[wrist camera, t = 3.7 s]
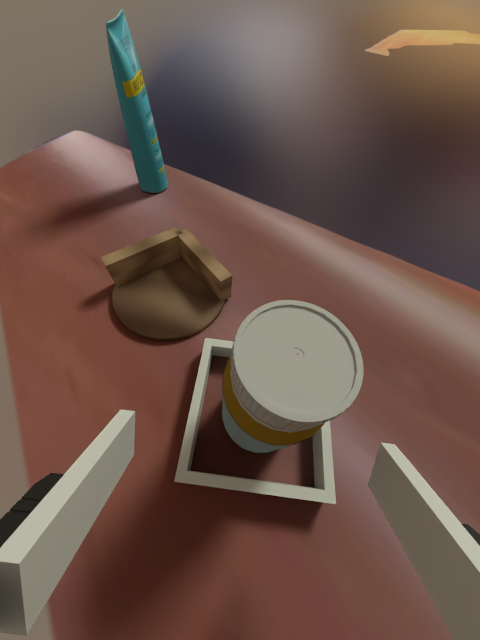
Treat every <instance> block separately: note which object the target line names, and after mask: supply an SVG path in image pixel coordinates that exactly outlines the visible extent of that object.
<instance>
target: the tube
mask: <svg viewBox="0 0 480 640" xmlns="http://www.w3.org/2000/svg"><path fill="white" fill-rule="evenodd" d="M106 30H107V39H108V46H109V53H110V58H111V64H112V69H113V74H114V79H115V83H116V88H117V93H118V97H119V102H120V106H121V111H122V115H123V119H124V123H125V128H126V132H127V136H128V140H129V145H130V148H131V153H132V157H133V161H134V165H135V169H136V173H137V177H138V181H139V185H140V188H141V189H142V190H143V191H145V192H149V193H158V192H162V191H163V190H165V189H166V188H167V187H168V183H167V178H166V173H165V168H164V164H163V160H162V155H161V151H160V147H159V142H158V138H157V134H156V130H155V125H154V121H153V117H152V113H151V109H150V105H149V101H148V96H147V92H146V88H145V85H144V81H143V77H142V73H141V69H140V66H139V62H138V58H137V55H136V52H135V48H134V44H133V41H132V37H131V34H130V31H129V28H128V24H127V21H126V18H125V15H124V10H123V9H122V10H121V11H120V12H119V14H118V16H117V17H116V18H114V19H113V20H111V21H109V22H107V23H106Z"/></svg>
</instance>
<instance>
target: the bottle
mask: <svg viewBox="0 0 480 640" xmlns="http://www.w3.org/2000/svg"><path fill="white" fill-rule="evenodd" d="M362 380H363V361H362V356H361V353H360V350H359V347H358V345H357V343H356V341H355V339H354V337H353V336H352V334H351V333H350V331H349V330H348V329H347V328H346V326H345V325H344V324H343V323H342V322H341V321H340V320H338V319H337V318H336V317H335V316H333V315H332V314H331V313H329V312H328V311H326V310H324V309H322V308H320V307H318V306H316V305H313V304H310V303H307V302H302V301H296V300H281V301H275V302H271V303H268V304H265V305H263V306H261V307H259V308H257V309H256V310H254V311H253V312H252V313H251V314H249V315H248V316H247V317H246V319H245V320H244V321H243V322H242V324H241V326H239V329H238V331H237V332H236V337H234V343H233V346H232V355H231V356H230V358H229V359H228V362H227V365H226V368H225V370H224V375H223V392H222V419H223V422H224V426H225V429H226V431H227V433H228V435H229V436H230V438H231V439H232V440H233V441H234V442H235V443H236V444H237V445H238V446H240V447H241V448H243V449H245V450H248V451H250V452H254V453H267V452H271V451H274V450H277V449H280V448H284V447H287V446H290V445H293V444H296V443H298V442H301V441H303V440H306V439H308V438H310V437H311V436H313V435H314V434H315V433H316V432H317V431H318V430H319V429H320V428H321V427H322V426H323V425H324V424H325V422H328V421H330V420H332V419H334V418H336V417H337V416H339V415H341V414H342V413H343V411H345V410H347V409H348V407H349V406H350V405H351V404H352V403H353V401H354V400H355V398H356V396H357V395H358V393H359V390H360V388H361V385H362Z"/></svg>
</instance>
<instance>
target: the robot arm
mask: <svg viewBox="0 0 480 640" xmlns="http://www.w3.org/2000/svg"><path fill="white" fill-rule="evenodd" d="M134 432H135V411H128V410H120V411H119V412H118V413H117V414H116V416H115V417H114V418H113V419H112V420H111V421H110V422H109V424H108V425H107V426H106V427H105V428H104V429H103V431H102V432H101V433H100V434H99V435H98V436H97V437H96V439H95V440H94V441H93V442H92V443H91V444H90V445H89V447H88V448H87V449H86V450H85V451H84V452H83V454H82V455H81V456H80V457H79V458H78V459H77V460H76V462H75V463H74V464H73V465H72V466H71V467H70V468H69V470H68V471H67V472H66V473H65V474H56V473H50V474H49V475H47V476H46V477H44V478H43V479H41V480H40V481H38V482H37V483H35V484H34V485H33V486H32V487H31V488H30V490H29V491H28V492H27V493H26V494H25V495H24V496H23V497H22V499H21V500H19V501H18V502H17V503H16V504H15V505H14V506H13V507H12V508H11V509H10V511H9V512H8V513H6V514H5V515H4V516H3V517H2V518H1V520H0V632H2V633H9V634H18V635H26V636H27V635H28V633H29V631H30V630H31V628H32V626H33V625H34V623H35V621H36V619H37V618H38V616H39V614H40V613H41V611H42V609H43V608H44V606H45V604H46V603H47V601H48V599H49V598H50V596H51V594H52V592H53V591H54V589H55V587H56V586H57V584H58V582H59V581H60V579H61V577H62V576H63V574H64V572H65V571H66V569H67V567H68V565H69V564H70V562H71V560H72V559H73V557H74V555H75V554H76V552H77V550H78V549H79V547H80V545H81V543H82V542H83V540H84V538H85V537H86V535H87V533H88V532H89V530H90V528H91V527H92V525H93V523H94V522H95V520H96V518H97V516H98V515H99V513H100V511H101V510H102V508H103V506H104V505H105V503H106V501H107V500H108V498H109V496H110V495H111V493H112V491H113V489H114V488H115V486H116V484H117V483H118V481H119V479H120V478H121V476H122V474H123V473H124V471H125V469H126V468H127V466H128V464H129V462H130V461H131V459H132V457H133V456H134ZM368 486H369V487H370V489H371V491H372V493H373V495H374V496H375V498H376V500H377V502H378V504H379V505H380V507H381V509H382V511H383V513H384V514H385V516H386V518H387V520H388V522H389V523H390V525H391V527H392V529H393V531H394V532H395V534H396V536H397V538H398V540H399V541H400V543H401V545H402V547H403V548H404V550H405V552H406V554H407V556H408V557H409V559H410V561H411V563H412V565H413V566H414V568H415V570H416V572H417V574H418V575H419V577H420V579H421V581H422V583H423V584H424V586H425V588H426V590H427V592H428V593H429V595H430V597H431V599H432V601H433V602H434V604H435V606H436V608H437V609H438V611H439V613H440V615H441V617H442V618H443V620H444V622H445V624H446V626H447V627H448V629H449V631H450V633H451V635H452V636H453V638H454V640H480V534H478V533H477V532H476V531H475V530H474V529H472V528H471V527H470V526H469V525H468V524H461V523H460V522H459V521H458V519H457V518H456V517H455V516H454V515H453V513H452V512H451V511H450V510H449V509H448V507H447V506H446V505H445V504H444V503H443V501H442V500H441V499H440V498H439V497H438V495H437V494H436V493H435V492H434V491H433V489H432V488H431V487H430V486H429V485H428V483H427V482H426V481H425V480H424V479H423V477H422V476H421V475H420V474H419V473H418V471H417V470H416V469H415V468H414V467H413V465H412V464H411V463H410V462H409V461H408V459H407V458H406V457H405V456H404V455H403V453H402V452H401V451H400V450H399V449H398V447H397V446H396V445H395V444H388V443H380V447H379V450H378V453H377V457H376V460H375V463H374V467H373V470H372V473H371V477H370V480H369V483H368Z"/></svg>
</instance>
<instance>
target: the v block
mask: <svg viewBox="0 0 480 640" xmlns="http://www.w3.org/2000/svg"><path fill="white" fill-rule="evenodd" d="M100 258H101V260H102V262H103V264H104V265H105V267H106V269H107V270H108V272H109V274H110V276H111V277H112V279H113V281H114V282H115V285H114V288H113V293H112V302H113V307H114V310H115V312H116V314H117V316H118V318H119V319H120V320H121V322H122V323H123V324H124V325H125V326H126V327H127V328H128V329H129V330H131V331H132V332H133V333H135V334H137V335H139V336H141V337H144V338H147V339H152V340H159V341H172V340H179V339H183V338H187V337H190V336H192V335H195V334H197V333H199V332H200V331H202V330H204V329H205V328H207V327H208V326H209V325H210V324H211V323H212V322H214V320H215V319H216V318H217V317H218V316H219V314H220V312H221V311H222V309H223V306H224V304H225V300H226V299H228V298H229V297H231V286H232V275H231V274H230V273H229V272H228V271H227V270H226V269H225V268H224V267H223V266H222V265H221V264H220V262H219V261H218V260H217V259H216V258H215V257H214V256H213V255H212V254H211V253H210V252H209V251H208V250H207V249H206V248H205V247H204V246H203V245H202V244H201V243H200V242H199V241H198V240H197V239H196V238H195V237H194V236H193V235H192V234H191V233H190V232H189V231H188V230H187V229H186V228H183V229H181V230H180V229H179V228H178V227H174V228H172V229H169V230H167V231H164V232H162V233H160V234H157V235H155V236H152V237H150V238H147V239H145V240H142V241H140V242H137V243H135V244H132V245H130V246H128V247H125V248H123V249H120V250H118V251H115V252H113V253H110V254H108V255H105V256H103V257H100Z"/></svg>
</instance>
